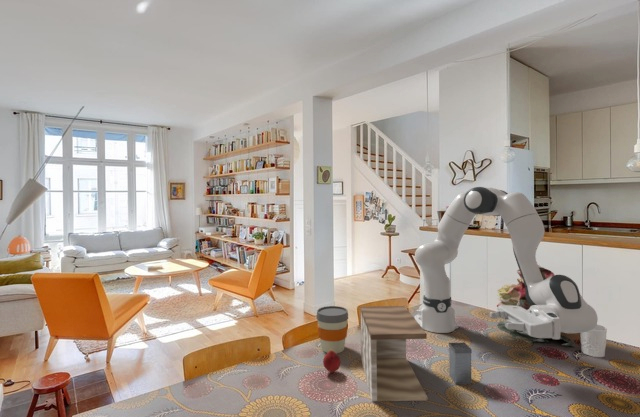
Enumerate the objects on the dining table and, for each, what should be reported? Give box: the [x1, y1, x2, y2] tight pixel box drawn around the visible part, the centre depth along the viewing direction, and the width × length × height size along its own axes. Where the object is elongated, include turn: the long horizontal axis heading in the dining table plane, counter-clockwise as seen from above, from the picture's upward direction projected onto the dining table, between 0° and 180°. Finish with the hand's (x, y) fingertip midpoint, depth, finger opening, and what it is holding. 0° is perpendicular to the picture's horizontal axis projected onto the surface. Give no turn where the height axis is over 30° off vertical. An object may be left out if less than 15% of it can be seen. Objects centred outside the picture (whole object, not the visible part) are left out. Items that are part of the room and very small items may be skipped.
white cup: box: [579, 324, 608, 358], centre depth 127 cm, size 8×8×10 cm
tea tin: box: [448, 342, 473, 385], centre depth 110 cm, size 5×5×11 cm
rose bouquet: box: [496, 264, 576, 348], centre depth 147 cm, size 26×29×30 cm
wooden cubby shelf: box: [360, 305, 428, 402], centre depth 112 cm, size 26×16×20 cm, turn 0°
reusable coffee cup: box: [316, 305, 349, 354], centre depth 135 cm, size 13×13×15 cm
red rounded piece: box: [322, 349, 341, 374], centre depth 116 cm, size 6×6×8 cm
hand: (498, 320), depth 110 cm, fingers open, 8 cm apart
